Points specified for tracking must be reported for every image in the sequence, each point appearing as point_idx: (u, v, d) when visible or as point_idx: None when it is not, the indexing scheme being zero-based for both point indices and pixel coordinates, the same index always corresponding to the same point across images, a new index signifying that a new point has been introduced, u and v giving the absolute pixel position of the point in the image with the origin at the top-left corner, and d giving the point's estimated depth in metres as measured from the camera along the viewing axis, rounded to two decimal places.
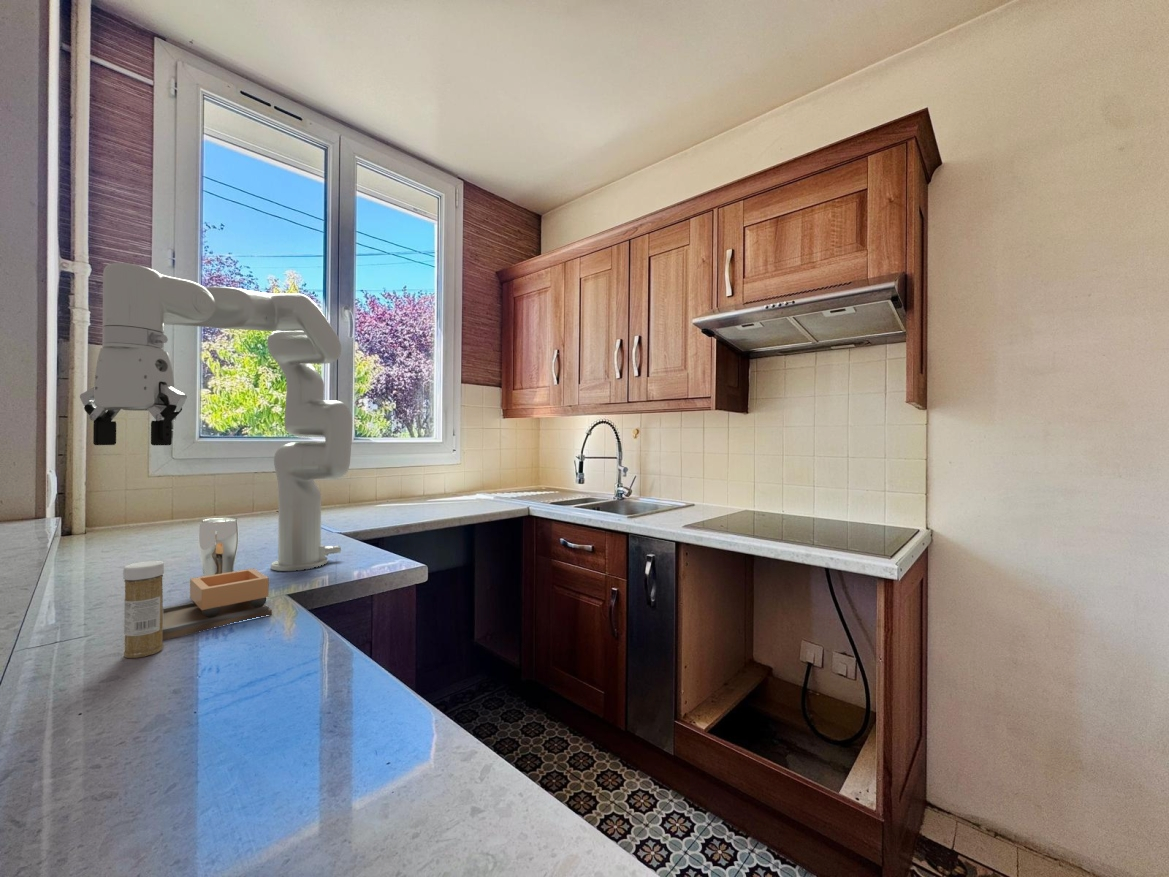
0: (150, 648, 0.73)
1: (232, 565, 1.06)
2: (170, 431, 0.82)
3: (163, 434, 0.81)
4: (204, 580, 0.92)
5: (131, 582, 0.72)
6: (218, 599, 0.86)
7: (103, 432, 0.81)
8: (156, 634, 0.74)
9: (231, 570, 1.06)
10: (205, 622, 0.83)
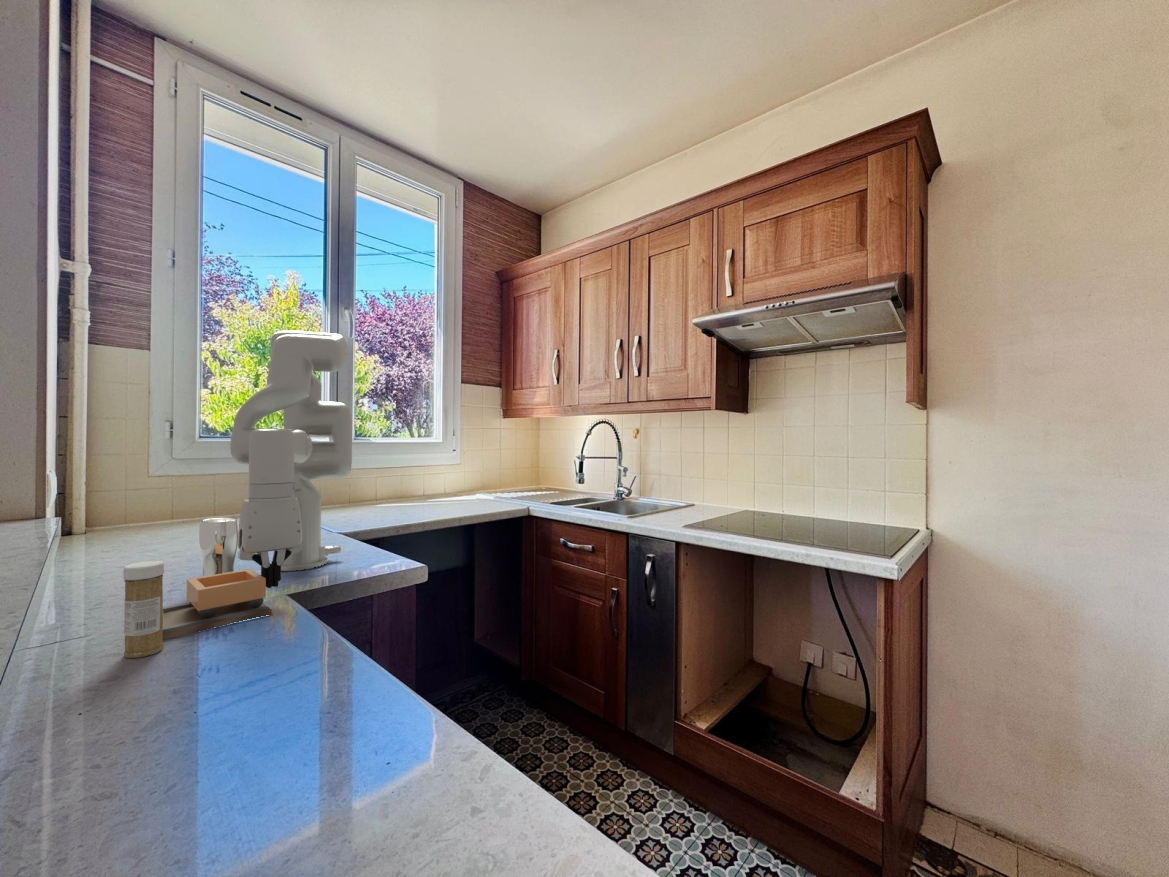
0: (150, 648, 0.73)
1: (232, 565, 1.06)
2: None
3: (280, 576, 0.97)
4: (201, 581, 0.91)
5: (131, 582, 0.72)
6: (215, 600, 0.86)
7: None
8: (156, 634, 0.74)
9: (231, 570, 1.06)
10: (205, 622, 0.83)
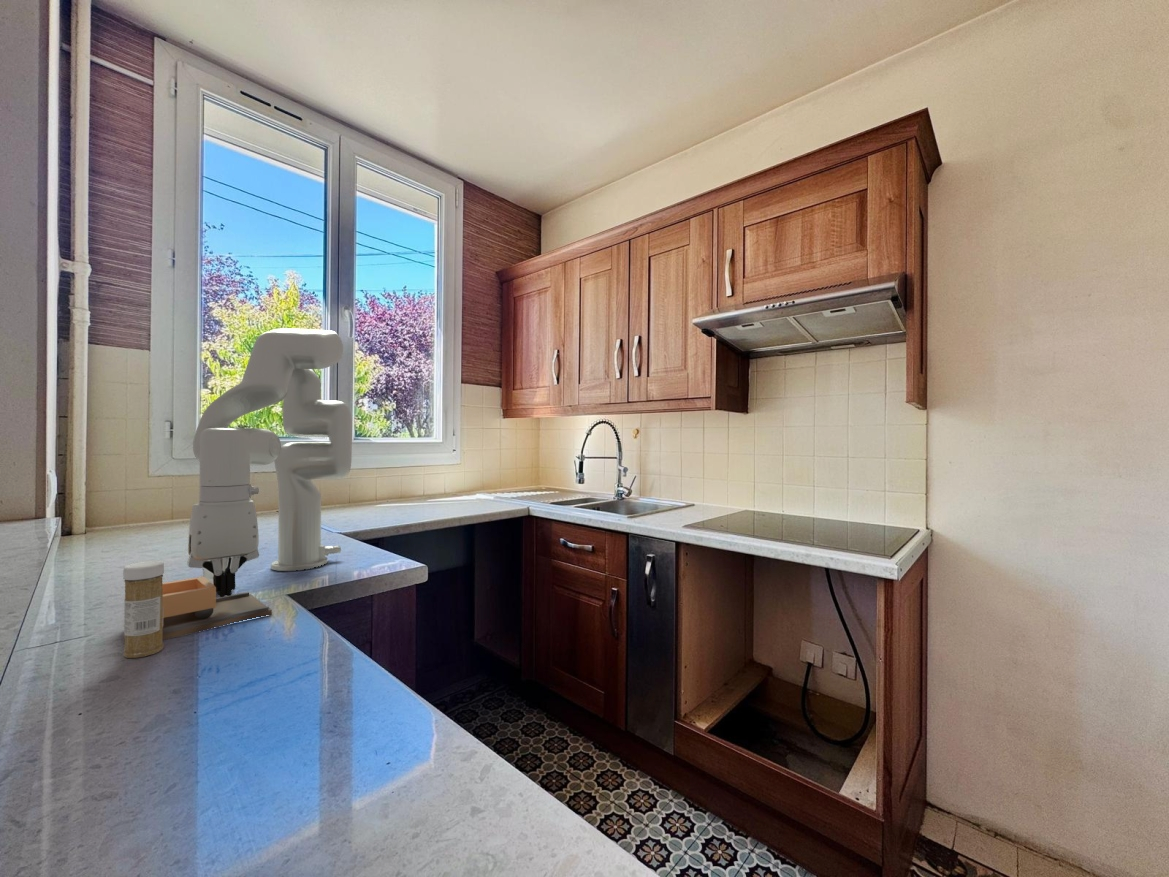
0: (150, 648, 0.73)
1: None
2: None
3: (234, 584, 0.91)
4: None
5: (131, 582, 0.72)
6: None
7: None
8: (156, 634, 0.74)
9: None
10: (205, 622, 0.83)
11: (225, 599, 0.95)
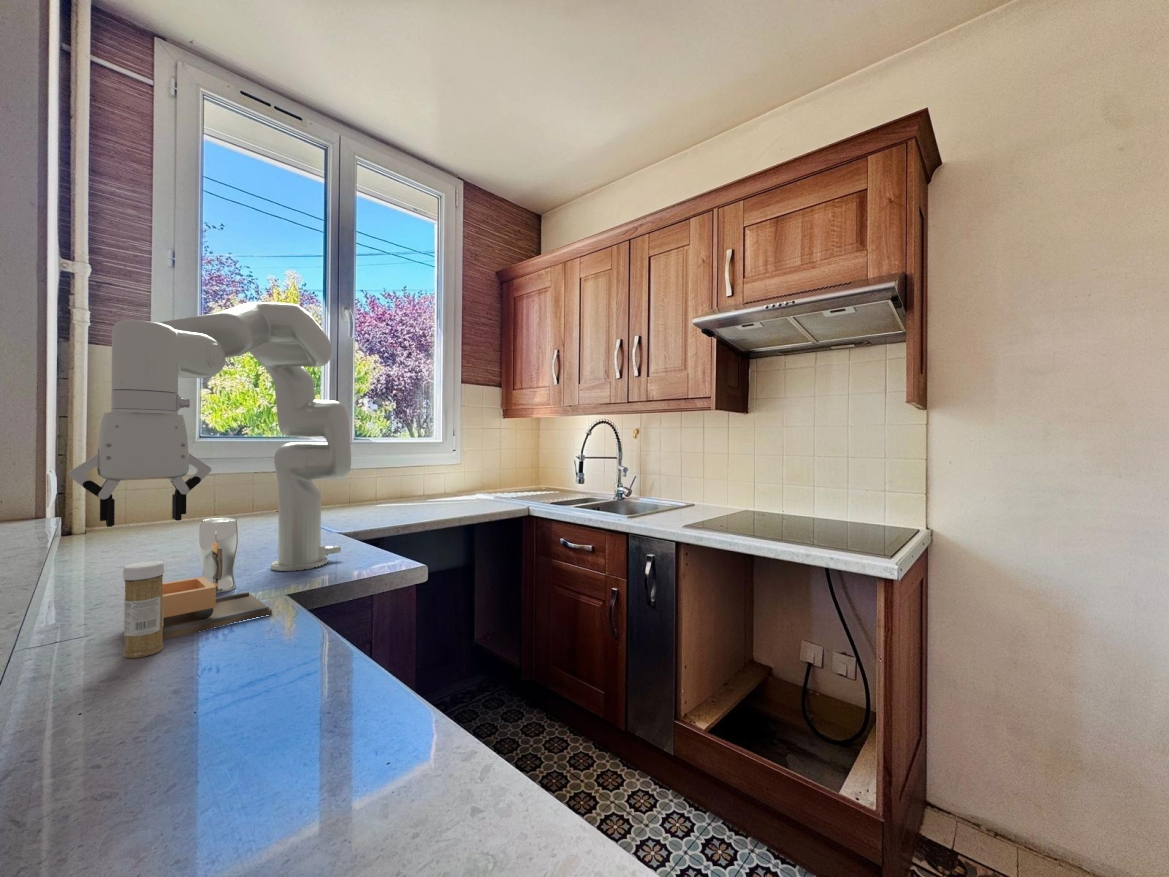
0: (150, 648, 0.73)
1: (232, 565, 1.06)
2: None
3: (185, 508, 0.77)
4: None
5: (131, 582, 0.72)
6: None
7: None
8: (156, 634, 0.74)
9: (231, 570, 1.06)
10: (205, 622, 0.83)
11: (225, 599, 0.95)
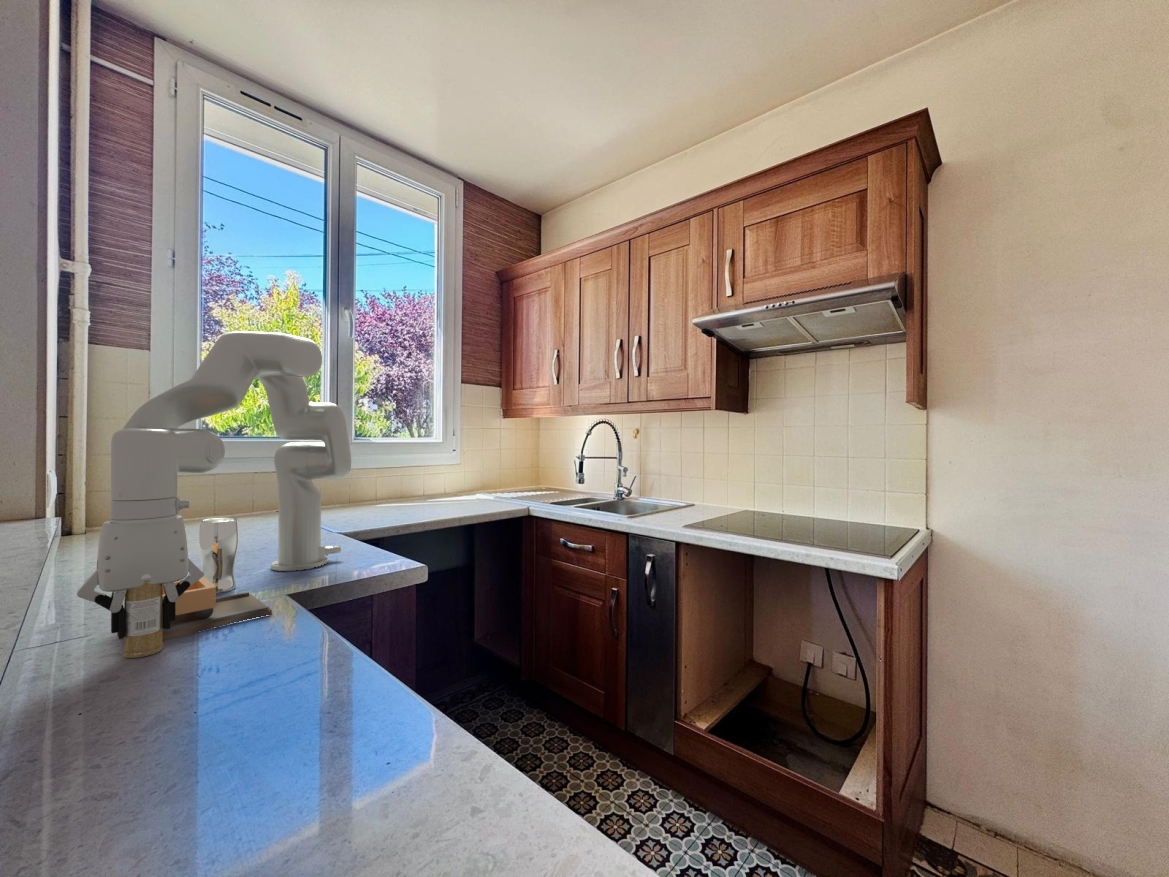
0: (150, 648, 0.73)
1: (232, 565, 1.06)
2: None
3: (174, 614, 0.76)
4: None
5: None
6: None
7: None
8: (156, 634, 0.74)
9: (231, 570, 1.06)
10: (205, 622, 0.83)
11: (225, 599, 0.95)
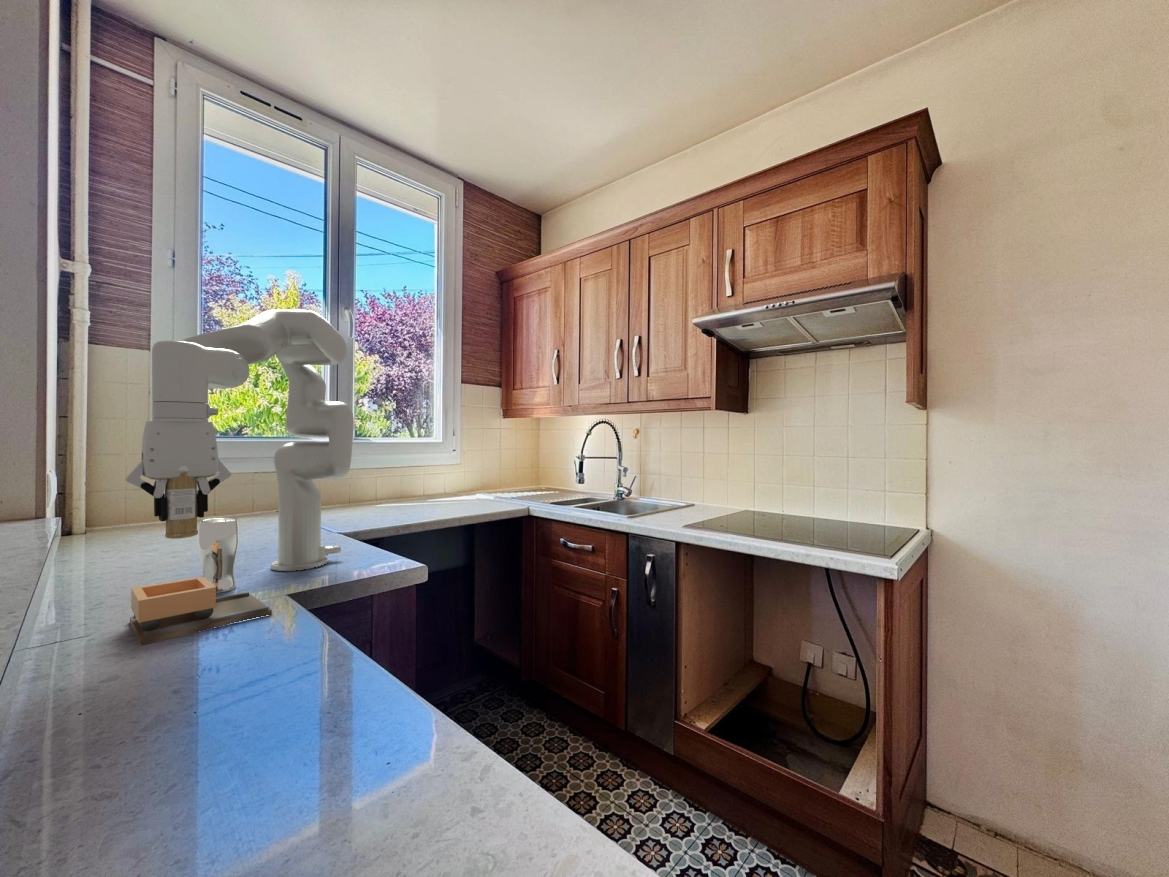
0: (187, 531, 0.85)
1: (232, 565, 1.06)
2: None
3: (207, 506, 0.88)
4: (147, 589, 0.86)
5: None
6: (158, 611, 0.80)
7: None
8: (192, 520, 0.86)
9: (231, 570, 1.06)
10: (205, 622, 0.83)
11: (225, 599, 0.95)
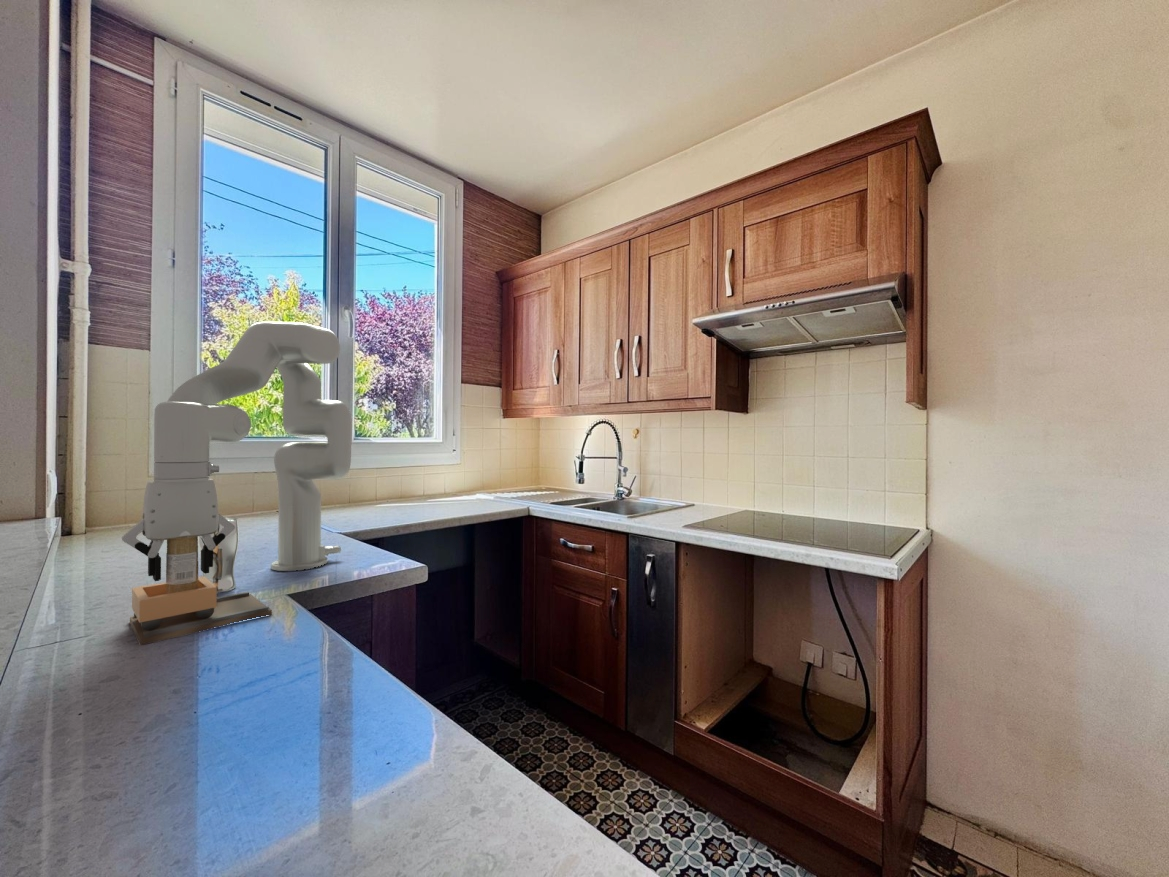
0: None
1: (232, 565, 1.06)
2: None
3: (212, 561, 0.89)
4: (147, 589, 0.86)
5: (172, 539, 0.84)
6: (158, 610, 0.80)
7: None
8: (193, 584, 0.86)
9: (231, 570, 1.06)
10: (205, 622, 0.83)
11: (225, 599, 0.95)
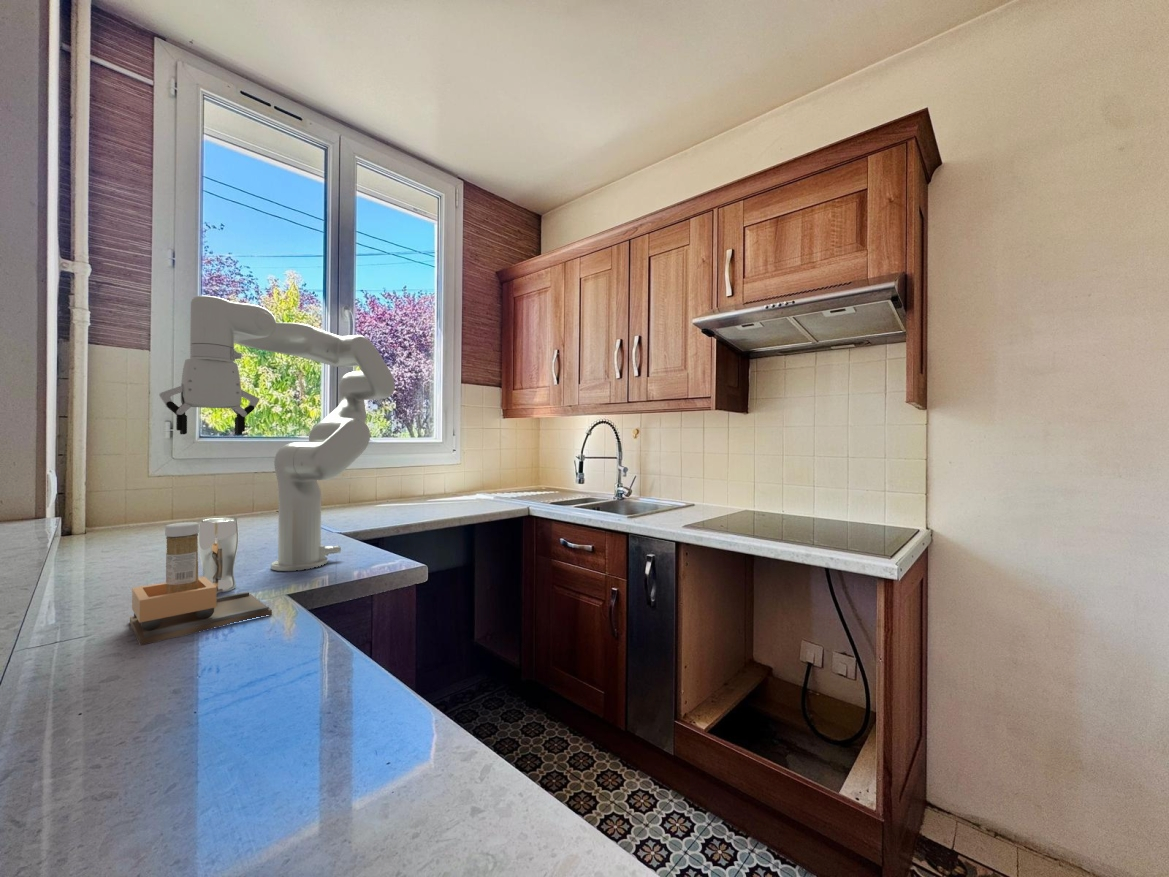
0: None
1: (232, 565, 1.06)
2: None
3: (244, 426, 1.10)
4: (147, 589, 0.86)
5: (172, 539, 0.84)
6: (159, 610, 0.80)
7: None
8: (193, 584, 0.86)
9: (231, 570, 1.06)
10: (205, 622, 0.83)
11: (225, 599, 0.95)
